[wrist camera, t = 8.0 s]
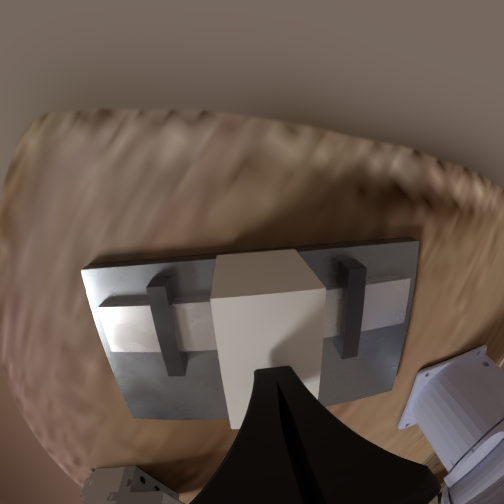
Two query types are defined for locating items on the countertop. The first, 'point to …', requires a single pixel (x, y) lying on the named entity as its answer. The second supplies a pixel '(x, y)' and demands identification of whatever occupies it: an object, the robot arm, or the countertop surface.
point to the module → (266, 321)
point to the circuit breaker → (126, 487)
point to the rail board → (203, 334)
